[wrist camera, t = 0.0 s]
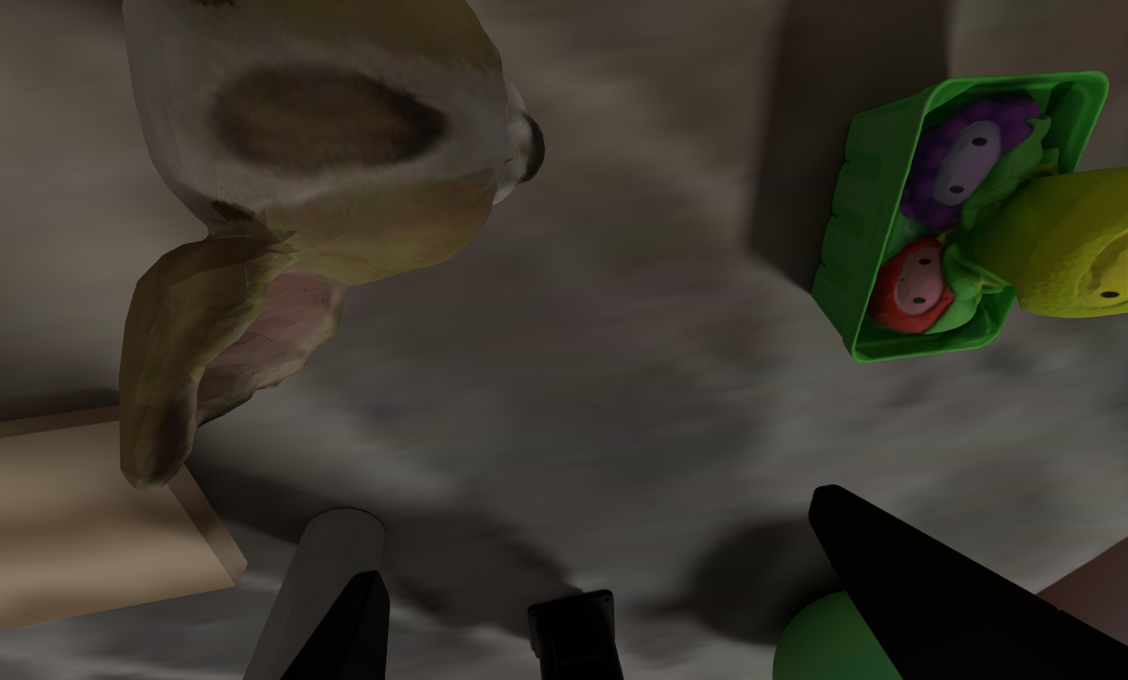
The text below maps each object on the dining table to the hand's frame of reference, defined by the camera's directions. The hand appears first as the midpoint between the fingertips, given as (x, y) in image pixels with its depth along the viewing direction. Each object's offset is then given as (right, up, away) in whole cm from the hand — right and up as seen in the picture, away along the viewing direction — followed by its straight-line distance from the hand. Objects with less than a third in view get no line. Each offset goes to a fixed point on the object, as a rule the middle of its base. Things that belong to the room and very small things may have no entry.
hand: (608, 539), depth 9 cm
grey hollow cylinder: (-14, -8, +18) cm, 24 cm away
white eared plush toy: (-7, +13, +9) cm, 17 cm away
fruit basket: (+15, +11, +14) cm, 23 cm away
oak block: (-26, -5, +15) cm, 31 cm away
